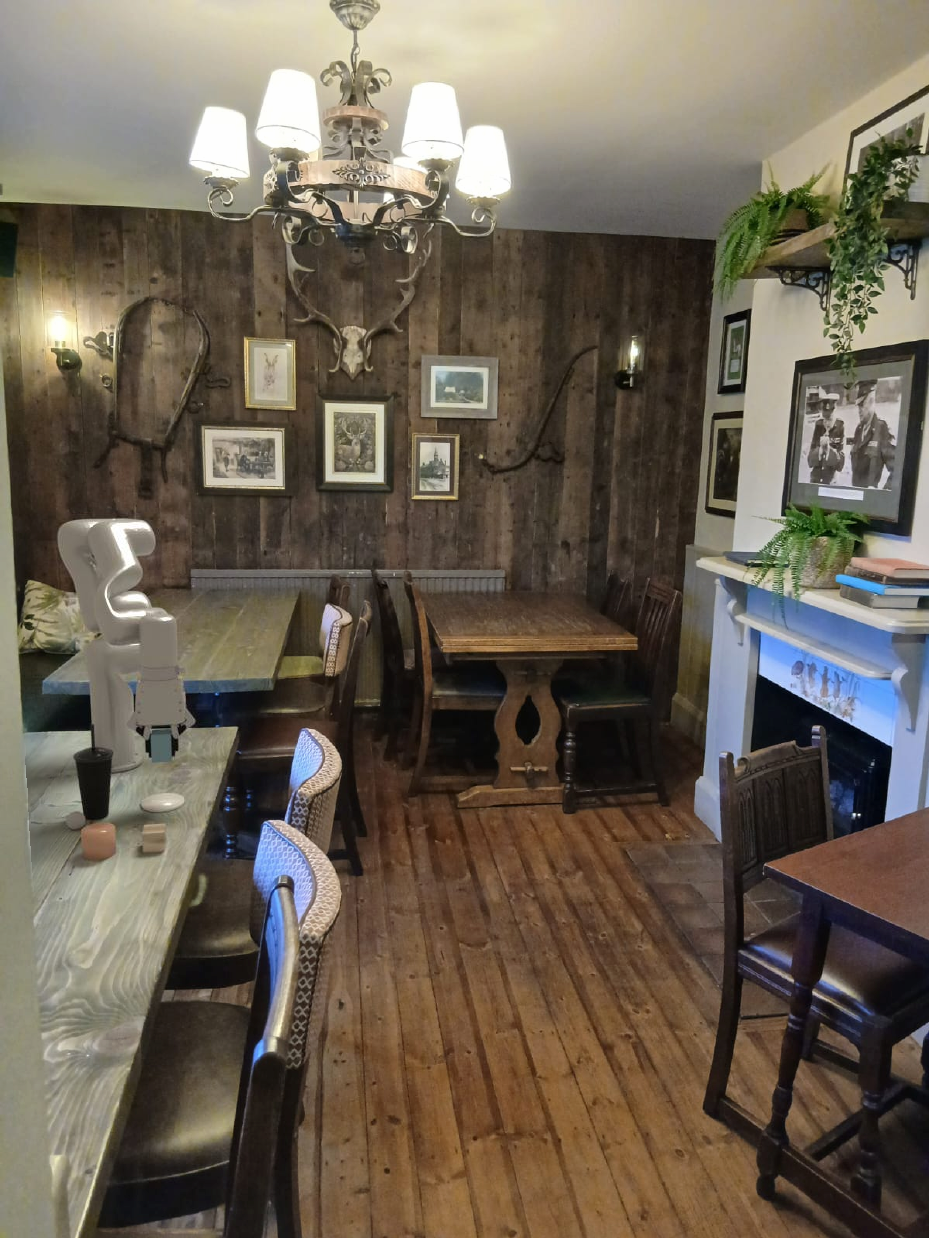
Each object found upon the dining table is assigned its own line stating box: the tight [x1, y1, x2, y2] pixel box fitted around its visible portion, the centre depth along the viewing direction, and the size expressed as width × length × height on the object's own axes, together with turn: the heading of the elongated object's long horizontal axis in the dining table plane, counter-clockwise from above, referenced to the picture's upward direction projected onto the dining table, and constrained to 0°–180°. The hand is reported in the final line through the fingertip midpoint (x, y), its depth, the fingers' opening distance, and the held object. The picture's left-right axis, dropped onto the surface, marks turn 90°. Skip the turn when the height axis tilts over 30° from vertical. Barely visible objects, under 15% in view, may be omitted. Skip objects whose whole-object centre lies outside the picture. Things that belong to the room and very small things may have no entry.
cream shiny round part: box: [140, 792, 185, 813], centre depth 191 cm, size 9×9×1 cm
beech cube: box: [141, 823, 167, 853], centre depth 171 cm, size 4×4×4 cm
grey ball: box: [65, 810, 86, 830], centre depth 178 cm, size 4×4×4 cm
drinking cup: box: [72, 723, 114, 821], centre depth 182 cm, size 8×8×20 cm
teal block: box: [150, 728, 173, 763], centre depth 188 cm, size 4×4×6 cm
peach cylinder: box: [80, 822, 117, 862], centre depth 168 cm, size 6×6×5 cm
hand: (162, 754), depth 189 cm, fingers closed on teal block, 4 cm apart
